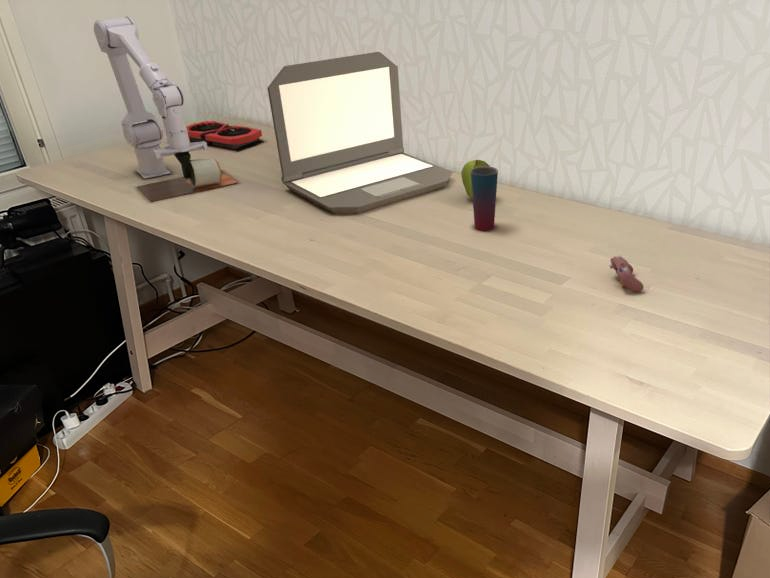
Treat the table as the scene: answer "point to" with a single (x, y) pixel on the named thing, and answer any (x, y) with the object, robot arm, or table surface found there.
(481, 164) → the apple
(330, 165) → the laptop
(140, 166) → the robot arm
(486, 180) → the cup
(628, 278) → the reddish brown lumpy piece
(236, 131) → the graphics card
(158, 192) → the walnut board
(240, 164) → the table surface
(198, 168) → the ceramic mug
